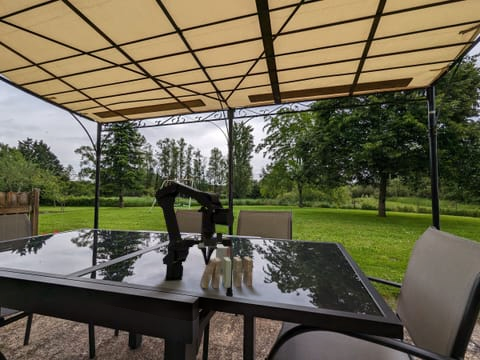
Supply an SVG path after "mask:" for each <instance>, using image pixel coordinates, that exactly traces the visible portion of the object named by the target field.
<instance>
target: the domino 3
mask: <svg viewBox="0 0 480 360" xmlns="http://www.w3.org/2000/svg"><path fill="white" fill-rule="evenodd" d="M221 274H222V276H221V283H222V285H223V286H224V288H225V289H226V288H231V282H232V260H231V258H230V259H229V258H228V257H223V270H222V272H221Z"/></svg>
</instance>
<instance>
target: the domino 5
mask: <svg viewBox="0 0 480 360" xmlns="http://www.w3.org/2000/svg"><path fill="white" fill-rule="evenodd" d="M253 268H254V259H252V258H251V257H250V256H243V262H242V282H243V283H244V284H245V286H247V287H253V276H254V275H253V273H254V269H253Z"/></svg>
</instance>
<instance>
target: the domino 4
mask: <svg viewBox="0 0 480 360" xmlns="http://www.w3.org/2000/svg"><path fill="white" fill-rule="evenodd" d="M232 261H233V262H232V283H233V284H234V286H235V287H236V288H241V287H242V284H243V283H242V282H243V259H241V258H240V257H239V256H233V260H232Z"/></svg>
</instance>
